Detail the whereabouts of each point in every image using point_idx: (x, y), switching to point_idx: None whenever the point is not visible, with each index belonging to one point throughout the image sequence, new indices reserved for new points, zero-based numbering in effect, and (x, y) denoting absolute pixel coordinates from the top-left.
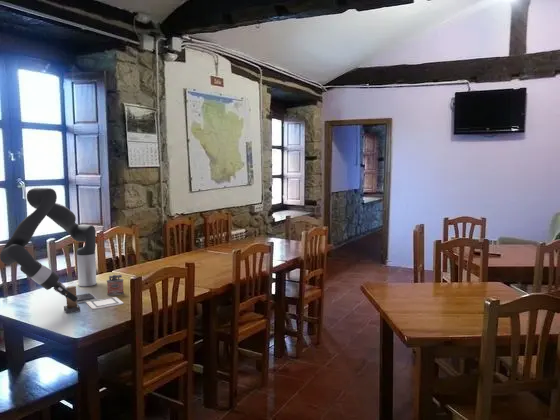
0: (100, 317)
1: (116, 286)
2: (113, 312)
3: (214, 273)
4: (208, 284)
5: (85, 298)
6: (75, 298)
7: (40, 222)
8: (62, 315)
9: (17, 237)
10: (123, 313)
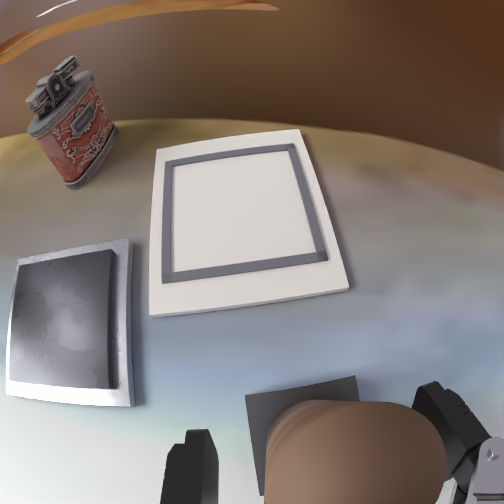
0: (490, 259)
1: (90, 117)
2: (431, 193)
3: (128, 9)
4: (206, 3)
5: (98, 307)
6: (455, 399)
7: None
8: None
9: None
10: (449, 164)
